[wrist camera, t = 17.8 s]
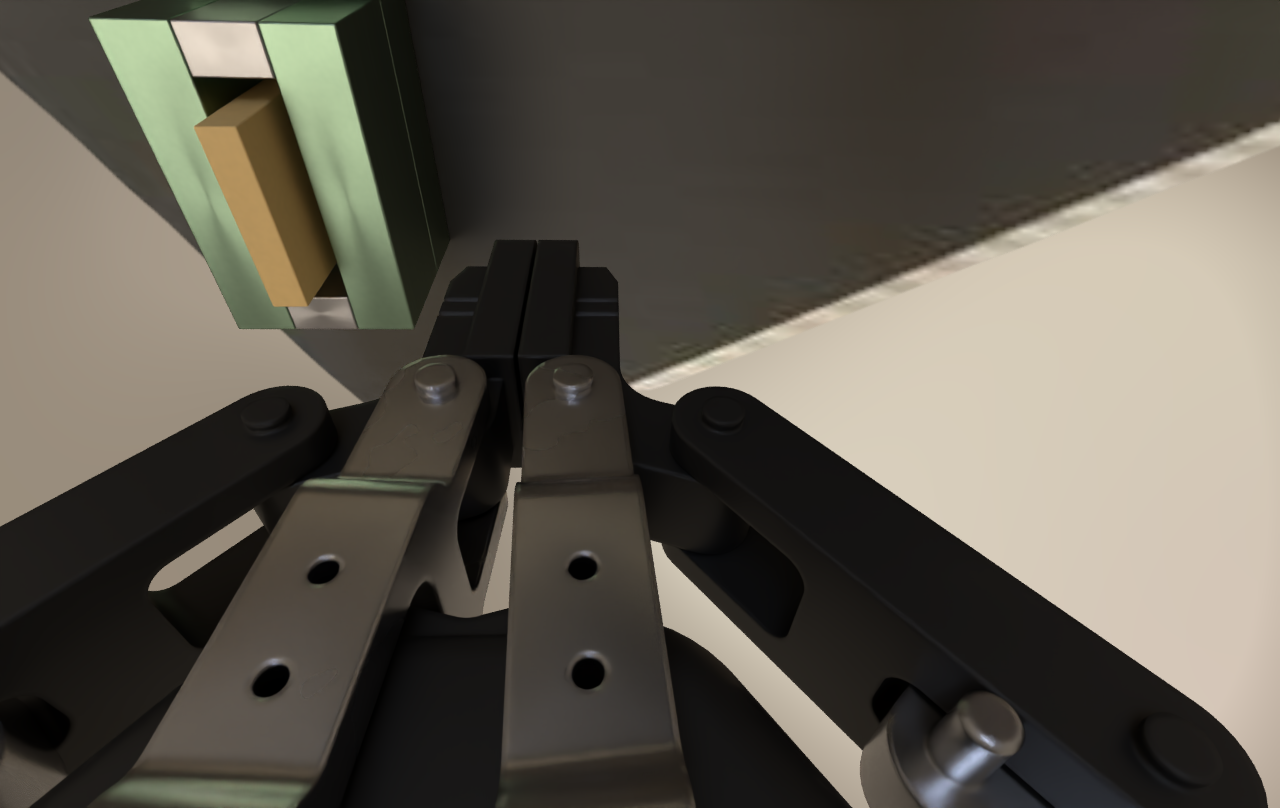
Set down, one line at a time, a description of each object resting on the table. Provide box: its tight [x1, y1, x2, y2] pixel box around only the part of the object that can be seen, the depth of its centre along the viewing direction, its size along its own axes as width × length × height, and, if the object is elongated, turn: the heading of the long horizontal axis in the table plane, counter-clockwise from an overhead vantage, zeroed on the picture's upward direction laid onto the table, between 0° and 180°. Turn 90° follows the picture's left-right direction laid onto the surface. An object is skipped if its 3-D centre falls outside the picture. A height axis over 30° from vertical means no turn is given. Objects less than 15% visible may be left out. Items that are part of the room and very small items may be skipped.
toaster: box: [88, 0, 450, 329], centre depth 31 cm, size 14×9×10 cm, turn 178°
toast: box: [194, 79, 337, 307], centre depth 29 cm, size 8×2×8 cm, turn 179°
